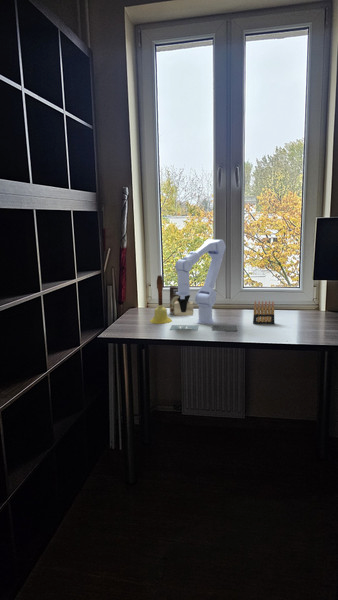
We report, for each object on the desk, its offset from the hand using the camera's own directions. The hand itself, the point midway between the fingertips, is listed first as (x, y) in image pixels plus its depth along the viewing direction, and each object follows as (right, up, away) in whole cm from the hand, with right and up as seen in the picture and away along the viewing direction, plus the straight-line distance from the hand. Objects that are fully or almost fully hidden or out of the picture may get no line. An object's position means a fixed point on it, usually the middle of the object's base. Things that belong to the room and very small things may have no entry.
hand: (184, 310), depth 206 cm
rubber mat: (+20, -9, -1) cm, 22 cm away
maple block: (0, -2, 0) cm, 2 cm away
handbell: (-12, -6, +17) cm, 21 cm away
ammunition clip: (+41, -7, +7) cm, 42 cm away
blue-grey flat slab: (0, -9, +2) cm, 9 cm away
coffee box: (-2, -3, +34) cm, 34 cm away
